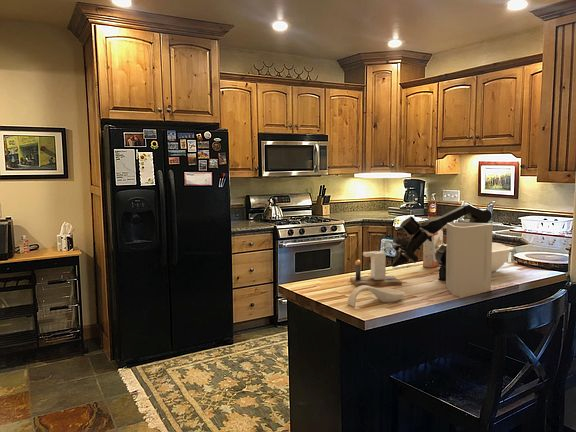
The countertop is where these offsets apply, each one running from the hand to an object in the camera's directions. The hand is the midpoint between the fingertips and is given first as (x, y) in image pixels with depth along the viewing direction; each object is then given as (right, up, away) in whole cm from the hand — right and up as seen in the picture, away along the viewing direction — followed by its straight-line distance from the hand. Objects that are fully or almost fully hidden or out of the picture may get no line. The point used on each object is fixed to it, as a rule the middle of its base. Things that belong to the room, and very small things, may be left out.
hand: (392, 266), depth 212 cm
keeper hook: (-16, -6, -1) cm, 17 cm away
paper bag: (+26, -8, -15) cm, 31 cm away
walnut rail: (-8, -7, 0) cm, 11 cm away
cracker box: (+30, -4, +36) cm, 47 cm away
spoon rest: (-13, -11, -31) cm, 36 cm away
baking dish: (+46, -5, +22) cm, 51 cm away
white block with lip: (-8, -5, 0) cm, 10 cm away
